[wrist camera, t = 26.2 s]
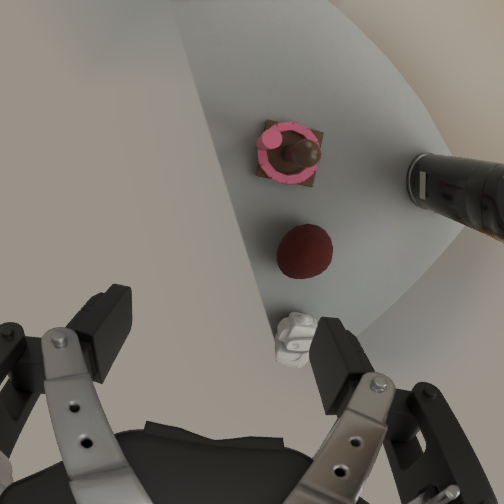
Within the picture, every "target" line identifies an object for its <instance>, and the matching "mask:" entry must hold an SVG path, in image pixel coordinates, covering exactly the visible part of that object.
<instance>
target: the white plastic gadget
mask: <svg viewBox="0 0 504 504" xmlns="http://www.w3.org/2000/svg"><path fill="white" fill-rule="evenodd" d="M317 325H318V323H317V322H316V320H315V319H314V318H312V316H311V315H308V314H303V313H298V312H291V313H290V314H289V316H288V317H287V318H284V319H282V320H281V321H280V322H279V324H278V326H277V332H278V333H276V335H275V354H276V362H279V363H281V364H283V365H288V366H292V367H296V368H300V367H302V366H303V365H304V364H305V363H307V362H308V361H309V360H310V359H309V349H310V345H311V342H312V339H313V337H314V334H315V331H316V328H317Z"/></svg>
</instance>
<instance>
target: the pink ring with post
mask: <svg viewBox="0 0 504 504" xmlns="http://www.w3.org/2000/svg"><path fill="white" fill-rule="evenodd" d="M285 131H293V132H295V133H297V134H300V135H302V136H303V138H304V139H310V140H313V141H314V142H316V143H317V144H318V146H319V147H320V145H319V142H317V141H318V139H317V138H316V137H315V135H314V134H313V133H312V132H311V130H310V129H307V127H305V126H303V125H301V124H298V123H296V122H293V123H292V121H291V122H282V123H277V124H275V125H273V126H272V127H271V128H269V129H268V130H266V131H265V132H264V133H263V134H262V135H261V136H260V137H259V138H258V139H257V141H256V145H257V149H260V150H257V155H258V161H259V164H260V167H261V168H262V169H263V170H264V172H265V173H266V174H267V175H268V176H269V177H271V179H273V180H275V181H278V182H281V183H283V184H294V183H301V181H305V180H306V179H307V178H309V177H310V176H311V175H312V174H314V171H316V169H317V167H318V164H319V162H320V160H319V162H318V163H317V164H316V165H315V166H313V167H309V168H304V169H302V170H301V171H300V172H299V173H296V174H289V175H285V174H282V173H280V172H277V171H275V169H274V168H273V167H272V166H271V165H270V163H269V162H268V157H267V151H266V150H269V149H274V148H277V147H279V146H280V144H281V143H282V135H281V133H280V132H285ZM320 159H321V158H320ZM261 164H262V165H261Z"/></svg>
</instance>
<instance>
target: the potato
mask: <svg viewBox="0 0 504 504" xmlns="http://www.w3.org/2000/svg"><path fill="white" fill-rule="evenodd" d="M332 253H333V246H332V242H331V238H330V237H329V235H328V234H327V232H326V231H325V230H323V229H322V228H320V227H319V226H316V225H311V224H306V225H300V226H297V227H295V228H293V229H292V230H290V231H289V232H288V233H287V234H286V235H285V237H284V238H283V239H282V241H281V243H280V245H279V247H278V251H277V262H278V265H279V268H280V270H281V271H282V272H283V274H285V275H286V276H288V277H290V278H294V279H306V278H311V277H314V276H316V275H319V274H321V273H322V272H323V271H324V270H326V269H327V267H328V266H329V264H330V263H331V260H332Z"/></svg>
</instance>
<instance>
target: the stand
mask: <svg viewBox="0 0 504 504" xmlns="http://www.w3.org/2000/svg"><path fill="white" fill-rule="evenodd" d="M277 123H281V122H276V121H271V120H266V124H265V129H264V132H265V131H266V130H268V129H269V128H271V127H272V126H273V125H275V124H277ZM307 129H308V128H307ZM310 130H311V132H312V133H313V134H314V135H315V137H316V138H317V139H318V141H317V142H319V145H320V147H319V146H318V144H317V143H316V142H314V141H313V140H310V139H304V138H303V136H302V135H300V134H297V133H295V132H293V131H285V132H280V133H281V135H282V143H281V144H280V146H279V147H277V148H274V149H269V150H266V151H267V157H268V162H269V163H270V165H271V166H272V167H273V168H274V169H275V171H277V172H280V173H282V174H285V175H289V174H296V173H299V172H300V171H301V170H302V169H304V168H309V167H313V166H315V165H316V164H317V163H318V162H319V160H320V158H321V150H320V148H321V143H322V138H323V132H319V131H316V130H312V129H310ZM261 165H262V164H261ZM315 172H316V171H314V174H312V175H311V176H310V177H309V178H307V179H306V180H305V181H301V183H295V184H300V185H304V186H309V187H313V182H314V177H315ZM256 176H259V177H264V178H270V179H271V177H269V176H268V175H267V174H266V173H265V172H264V170H263V169H262V168H261V167H260V164H259V161H258V166H257V171H256Z"/></svg>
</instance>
